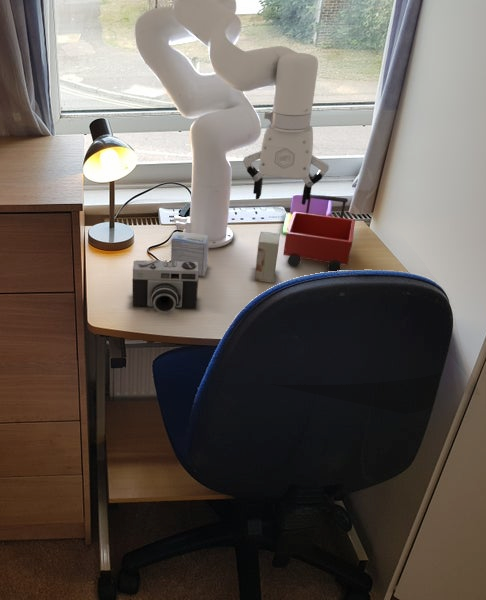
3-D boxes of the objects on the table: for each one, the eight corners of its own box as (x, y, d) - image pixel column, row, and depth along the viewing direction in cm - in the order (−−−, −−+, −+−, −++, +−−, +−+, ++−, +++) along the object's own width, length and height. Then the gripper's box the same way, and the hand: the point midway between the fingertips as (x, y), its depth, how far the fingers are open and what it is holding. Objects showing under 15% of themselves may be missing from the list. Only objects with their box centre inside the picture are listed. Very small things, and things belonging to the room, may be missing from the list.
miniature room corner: (332, 220, 168) (336, 196, 164) (330, 240, 159) (335, 215, 155) (286, 214, 171) (289, 191, 168) (281, 234, 162) (285, 209, 158)
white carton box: (256, 269, 147) (260, 230, 142) (275, 272, 146) (280, 233, 140) (253, 280, 143) (258, 241, 137) (273, 283, 142) (278, 243, 136)
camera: (126, 315, 132) (127, 272, 127) (135, 293, 140) (135, 253, 134) (193, 323, 129) (196, 280, 124) (198, 300, 137) (201, 259, 132)
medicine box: (207, 268, 148) (209, 235, 143) (203, 277, 144) (205, 243, 140) (174, 263, 150) (176, 230, 146) (170, 272, 147) (171, 239, 142)
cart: (281, 264, 149) (288, 215, 142) (289, 237, 160) (296, 191, 153) (345, 274, 144) (356, 224, 137) (349, 246, 156) (359, 198, 149)
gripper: (244, 121, 126) (237, 201, 135) (334, 129, 121) (321, 211, 130) (250, 111, 132) (243, 188, 141) (337, 118, 127) (324, 197, 136)
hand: (280, 199), depth 135 cm, fingers open, 9 cm apart
